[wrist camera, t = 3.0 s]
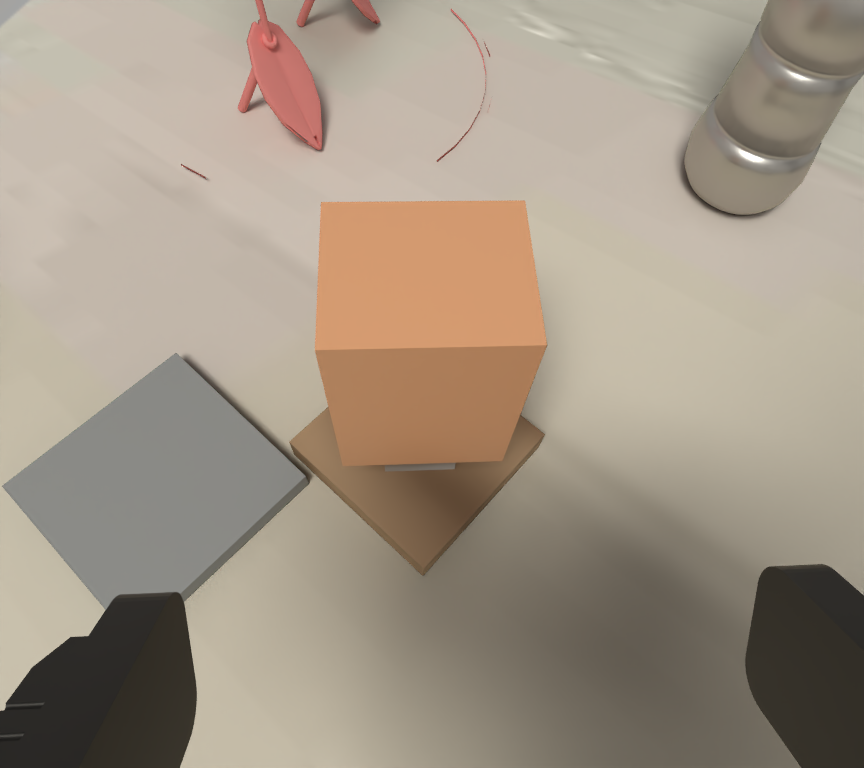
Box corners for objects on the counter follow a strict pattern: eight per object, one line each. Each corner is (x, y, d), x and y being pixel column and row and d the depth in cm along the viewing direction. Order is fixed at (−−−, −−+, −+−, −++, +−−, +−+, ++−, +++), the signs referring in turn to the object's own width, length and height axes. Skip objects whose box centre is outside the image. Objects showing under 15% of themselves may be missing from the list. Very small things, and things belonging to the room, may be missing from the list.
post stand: (300, 348, 32) (245, 151, 21) (524, 343, 33) (587, 150, 21) (287, 581, 27) (205, 484, 16) (555, 570, 27) (658, 469, 16)
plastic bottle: (707, 240, 36) (997, -217, 18) (652, 157, 39) (859, -307, 21) (803, 217, 37) (1165, -235, 20) (744, 138, 40) (1012, -318, 23)
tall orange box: (344, 350, 26) (321, 202, 19) (490, 347, 27) (525, 200, 19) (342, 466, 24) (314, 350, 16) (502, 461, 24) (547, 345, 17)
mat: (182, 363, 31) (175, 352, 30) (308, 483, 29) (305, 476, 28) (14, 493, 28) (1, 485, 27) (140, 642, 25) (130, 639, 24)
